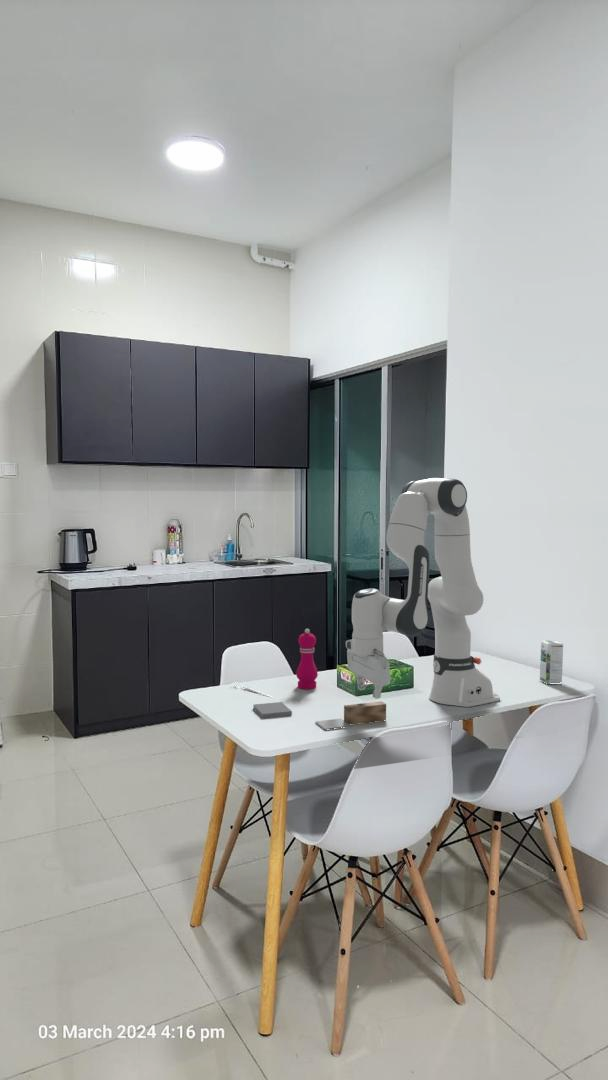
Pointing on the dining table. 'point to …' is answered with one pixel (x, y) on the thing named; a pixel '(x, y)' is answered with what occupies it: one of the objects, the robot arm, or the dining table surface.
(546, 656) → the syrup box
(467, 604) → the robot arm
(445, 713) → the dining table surface
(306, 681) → the pepper mill
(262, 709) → the tile
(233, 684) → the fork
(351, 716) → the wood block on plate
